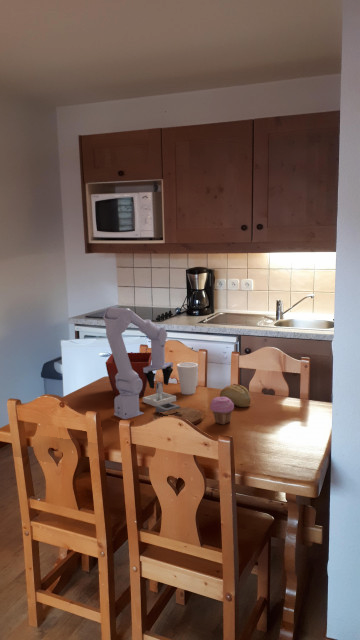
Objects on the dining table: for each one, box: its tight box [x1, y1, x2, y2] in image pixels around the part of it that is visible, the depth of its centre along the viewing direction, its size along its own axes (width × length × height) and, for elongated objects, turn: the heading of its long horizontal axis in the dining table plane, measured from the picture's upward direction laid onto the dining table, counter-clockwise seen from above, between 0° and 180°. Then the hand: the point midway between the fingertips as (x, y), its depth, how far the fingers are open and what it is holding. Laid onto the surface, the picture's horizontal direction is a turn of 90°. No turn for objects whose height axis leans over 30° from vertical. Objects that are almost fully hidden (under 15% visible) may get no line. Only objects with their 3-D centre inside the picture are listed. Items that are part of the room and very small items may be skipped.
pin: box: [155, 381, 164, 401], centre depth 219 cm, size 3×3×8 cm
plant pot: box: [105, 352, 152, 398], centre depth 233 cm, size 19×19×17 cm
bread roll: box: [219, 383, 252, 408], centre depth 215 cm, size 10×15×8 cm, turn 43°
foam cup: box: [176, 361, 199, 396], centre depth 232 cm, size 10×9×13 cm
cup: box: [154, 402, 181, 413], centre depth 206 cm, size 7×7×3 cm
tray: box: [142, 391, 177, 407], centre depth 220 cm, size 11×9×2 cm
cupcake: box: [209, 396, 235, 425], centre depth 193 cm, size 9×9×10 cm
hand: (159, 386), depth 219 cm, fingers open, 7 cm apart
